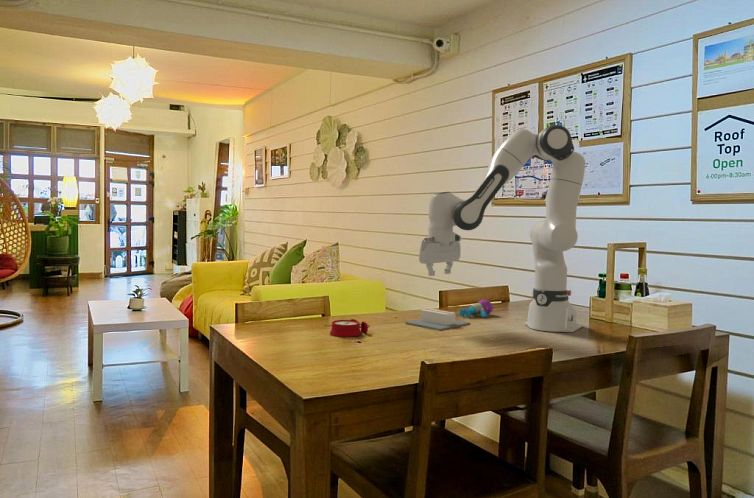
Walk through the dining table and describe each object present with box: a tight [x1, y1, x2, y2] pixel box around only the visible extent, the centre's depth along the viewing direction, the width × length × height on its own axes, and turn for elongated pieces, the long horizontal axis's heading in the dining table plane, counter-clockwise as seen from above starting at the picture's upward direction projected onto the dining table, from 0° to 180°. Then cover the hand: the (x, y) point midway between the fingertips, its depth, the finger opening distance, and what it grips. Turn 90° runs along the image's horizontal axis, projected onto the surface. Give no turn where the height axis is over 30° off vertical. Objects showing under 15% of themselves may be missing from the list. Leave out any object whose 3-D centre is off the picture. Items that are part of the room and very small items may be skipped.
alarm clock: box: [324, 318, 371, 338], centre depth 198 cm, size 10×6×15 cm
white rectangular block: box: [420, 308, 456, 326], centre depth 218 cm, size 12×5×4 cm, turn 46°
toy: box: [459, 299, 495, 319], centre depth 237 cm, size 12×7×15 cm
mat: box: [404, 318, 471, 331], centre depth 218 cm, size 18×16×1 cm
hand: (439, 274), depth 217 cm, fingers open, 8 cm apart
